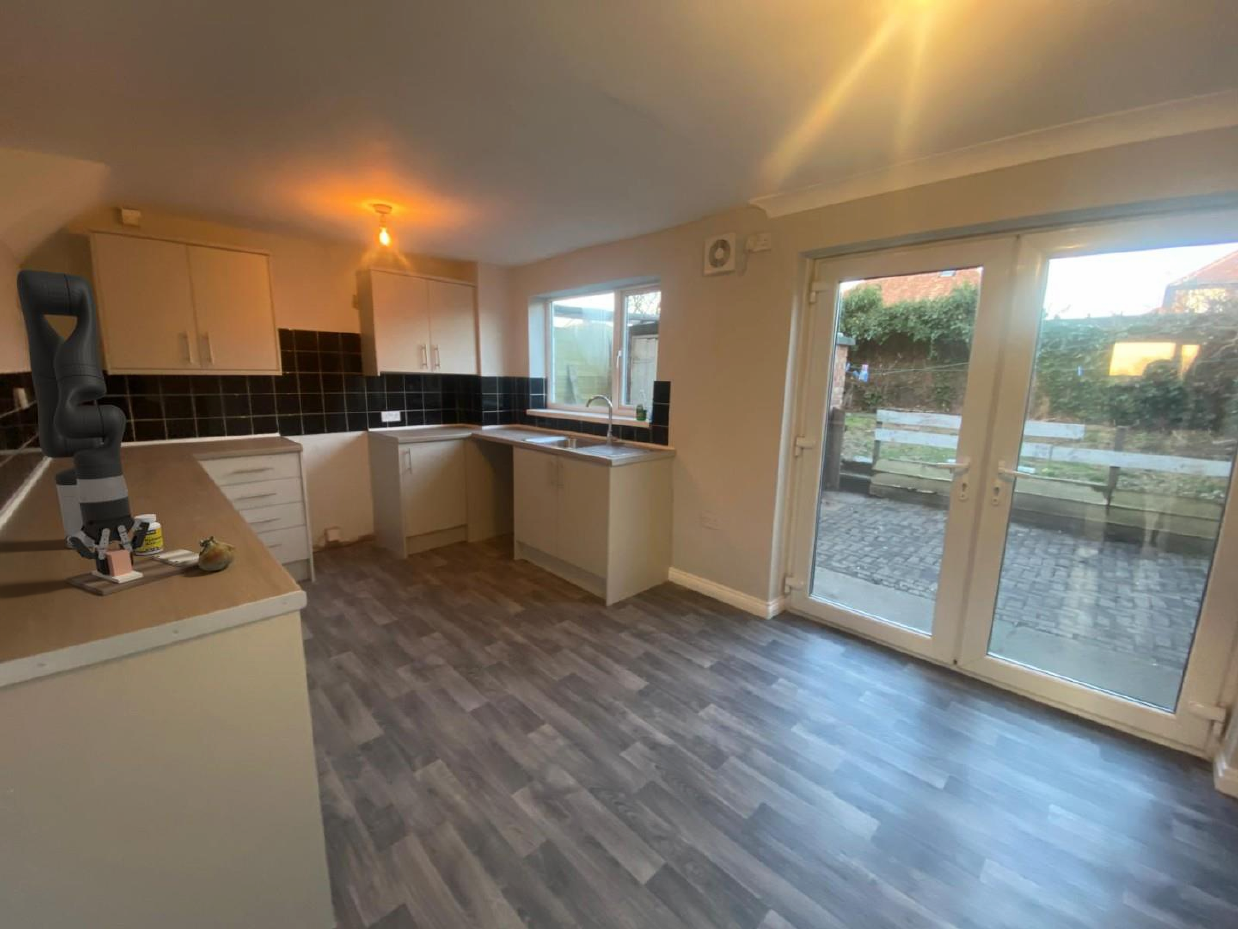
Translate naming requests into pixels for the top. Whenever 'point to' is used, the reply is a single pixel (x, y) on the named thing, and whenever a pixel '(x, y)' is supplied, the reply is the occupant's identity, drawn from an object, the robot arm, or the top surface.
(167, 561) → the board
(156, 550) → the supplement bottle
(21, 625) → the top surface
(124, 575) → the pink and white block
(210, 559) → the onion
